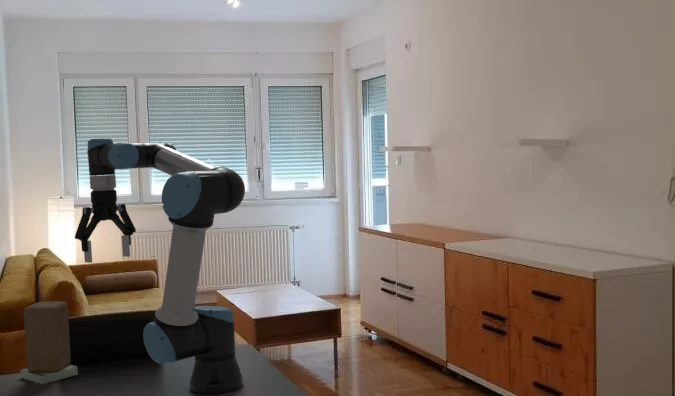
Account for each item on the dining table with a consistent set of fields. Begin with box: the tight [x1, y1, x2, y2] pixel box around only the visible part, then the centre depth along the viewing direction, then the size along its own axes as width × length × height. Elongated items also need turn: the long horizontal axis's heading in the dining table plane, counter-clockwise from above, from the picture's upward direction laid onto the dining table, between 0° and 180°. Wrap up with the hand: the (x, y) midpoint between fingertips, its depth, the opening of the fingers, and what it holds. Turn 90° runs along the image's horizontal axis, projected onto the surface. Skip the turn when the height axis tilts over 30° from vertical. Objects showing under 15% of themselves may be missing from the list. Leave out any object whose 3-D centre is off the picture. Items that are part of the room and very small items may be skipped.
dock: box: [20, 363, 79, 385], centre depth 236 cm, size 12×12×3 cm
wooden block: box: [23, 300, 71, 372], centre depth 235 cm, size 10×10×20 cm
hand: (107, 259), depth 232 cm, fingers open, 13 cm apart
